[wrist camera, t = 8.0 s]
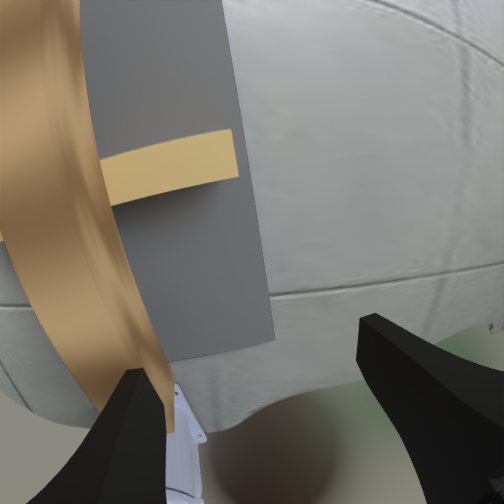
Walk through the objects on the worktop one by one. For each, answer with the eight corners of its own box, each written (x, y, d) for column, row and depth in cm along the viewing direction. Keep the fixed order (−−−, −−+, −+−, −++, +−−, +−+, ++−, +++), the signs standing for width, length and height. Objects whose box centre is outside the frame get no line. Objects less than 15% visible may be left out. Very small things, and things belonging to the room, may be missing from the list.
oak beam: (174, 376, 16) (174, 432, 12) (127, 382, 15) (119, 436, 12) (80, -32, 6) (49, -70, 3) (25, -6, 6) (-16, -31, 3)
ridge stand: (272, 331, 21) (289, 374, 17) (75, 365, 20) (61, 406, 16) (210, -47, 10) (216, -87, 6) (-18, 39, 9) (-55, 29, 5)
